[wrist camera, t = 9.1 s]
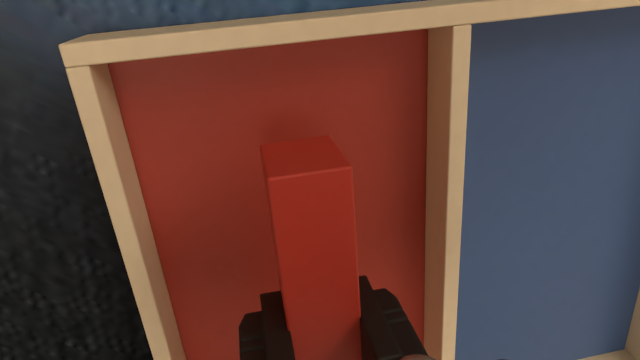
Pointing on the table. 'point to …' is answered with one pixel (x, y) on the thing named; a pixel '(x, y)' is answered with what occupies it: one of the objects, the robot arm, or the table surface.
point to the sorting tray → (384, 167)
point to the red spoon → (315, 245)
